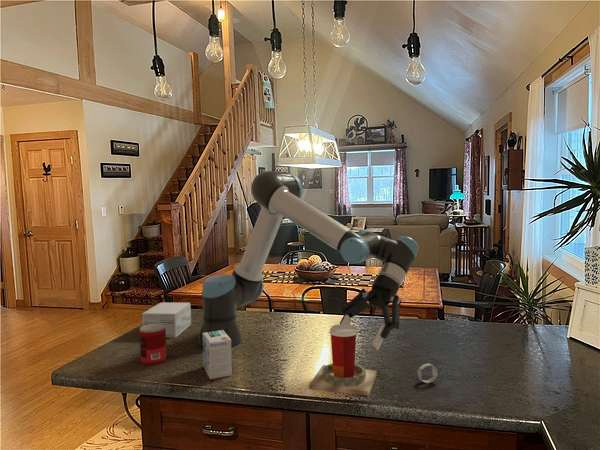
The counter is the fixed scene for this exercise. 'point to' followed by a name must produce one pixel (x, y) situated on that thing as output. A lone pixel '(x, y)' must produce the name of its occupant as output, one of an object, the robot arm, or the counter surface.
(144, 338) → the canned food
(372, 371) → the cup holder
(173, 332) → the supplement box
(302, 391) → the counter surface
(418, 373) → the grey ring
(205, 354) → the light bulb box
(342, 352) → the paper cup
